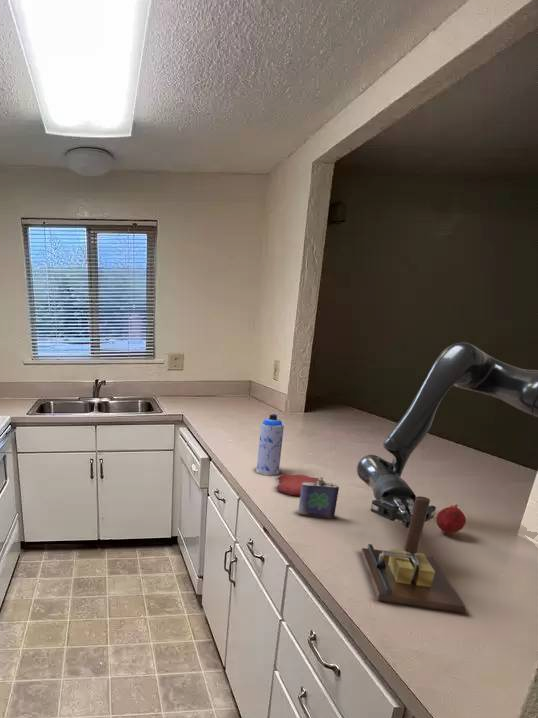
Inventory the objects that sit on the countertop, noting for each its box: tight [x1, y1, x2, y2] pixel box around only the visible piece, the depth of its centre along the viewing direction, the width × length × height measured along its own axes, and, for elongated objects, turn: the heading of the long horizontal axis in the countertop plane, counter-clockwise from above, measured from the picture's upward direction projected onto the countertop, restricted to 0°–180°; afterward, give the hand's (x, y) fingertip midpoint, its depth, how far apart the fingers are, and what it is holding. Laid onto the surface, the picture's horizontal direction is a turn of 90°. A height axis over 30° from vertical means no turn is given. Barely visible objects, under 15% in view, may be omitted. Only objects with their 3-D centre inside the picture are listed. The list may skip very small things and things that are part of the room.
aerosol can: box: [255, 413, 285, 476], centre depth 148 cm, size 8×8×20 cm
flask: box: [297, 476, 340, 519], centre depth 116 cm, size 9×3×11 cm, turn 75°
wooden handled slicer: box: [374, 495, 431, 580], centre depth 86 cm, size 8×6×16 cm
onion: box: [435, 503, 467, 535], centre depth 106 cm, size 6×6×8 cm
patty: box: [276, 473, 319, 497], centre depth 136 cm, size 18×14×2 cm
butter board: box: [360, 543, 466, 614], centre depth 88 cm, size 14×18×5 cm
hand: (414, 526), depth 87 cm, fingers closed
